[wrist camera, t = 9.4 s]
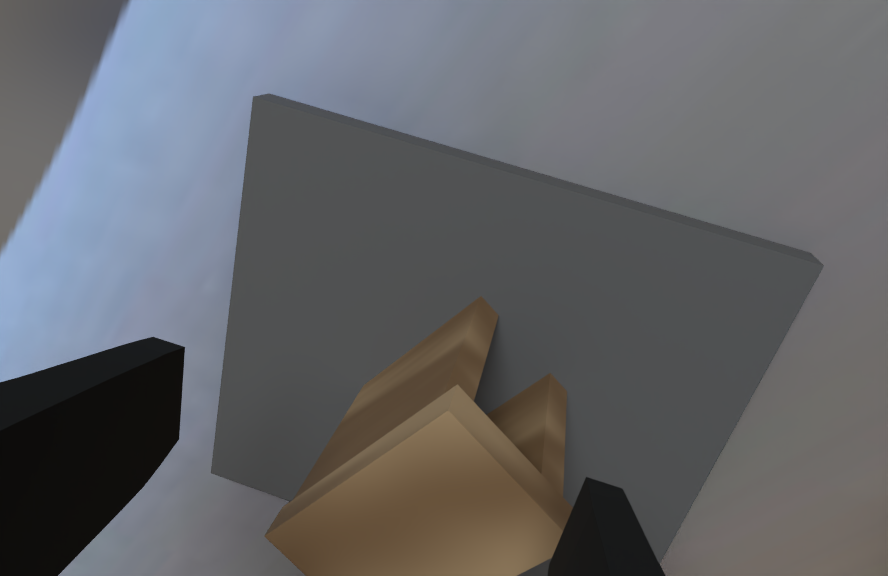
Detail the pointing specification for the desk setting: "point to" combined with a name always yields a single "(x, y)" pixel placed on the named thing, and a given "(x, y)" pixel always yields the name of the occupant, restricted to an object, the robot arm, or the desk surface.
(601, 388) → the charcoal mat
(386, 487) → the oak stool
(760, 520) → the desk surface
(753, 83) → the desk surface
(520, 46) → the desk surface
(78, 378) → the robot arm
